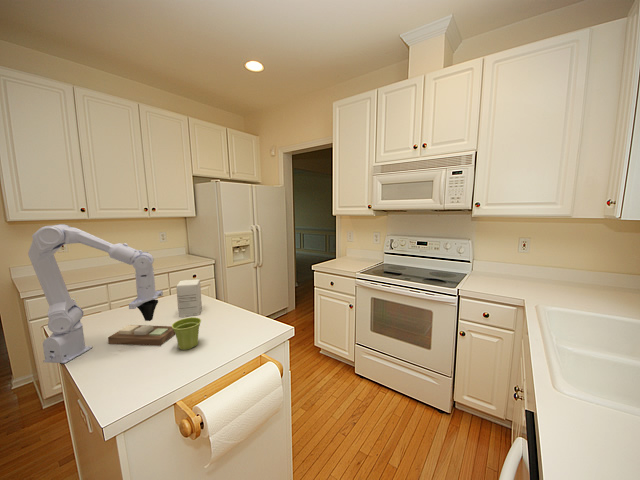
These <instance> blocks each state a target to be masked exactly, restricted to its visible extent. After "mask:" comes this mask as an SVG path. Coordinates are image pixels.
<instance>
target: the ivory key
mask: <svg viewBox="0 0 640 480" xmlns="http://www.w3.org/2000/svg"><path fill="white" fill-rule="evenodd" d="M153 326H154V325H146V326H141V327H140V328H138V329H136V330H135V331H134V335H146V334H148V333H149V332H151V331H152V330H154V328H153Z"/></svg>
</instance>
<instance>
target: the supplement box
mask: <svg viewBox="0 0 640 480" xmlns="http://www.w3.org/2000/svg"><path fill="white" fill-rule="evenodd" d="M175 289H176V298H177V300H176V302H177V310H178V313H177V314H178V318H188V317H196V316H200V315H201V311H202V309H203V304H202V290H201V289H202V288H201V279H200V278H199V279H185V280H180V281H179V282H178V283H177V284H176V288H175Z"/></svg>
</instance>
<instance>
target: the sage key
mask: <svg viewBox="0 0 640 480" xmlns="http://www.w3.org/2000/svg"><path fill="white" fill-rule="evenodd" d="M167 331H168V329H161V328H157V329H156V330H154V331H153V332H151V333H150V334H149V335H153V336H161V335H162V334H164V333H165V332H167Z"/></svg>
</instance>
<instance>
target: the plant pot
mask: <svg viewBox="0 0 640 480" xmlns="http://www.w3.org/2000/svg"><path fill="white" fill-rule="evenodd" d="M201 322H202V319H201V318H199V317H196V316H190V317H184V318H181V319H179V320H177V321H175V322H174V323H172V324H171V326H172V328H173V329H174V332H175V338H176V341H177V345H178V348H179V349H180V350H184V351H187V350H190V349H192V348H193V347H196V346H198V344H199V334H200V333H199V332H200V326H201Z"/></svg>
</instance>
